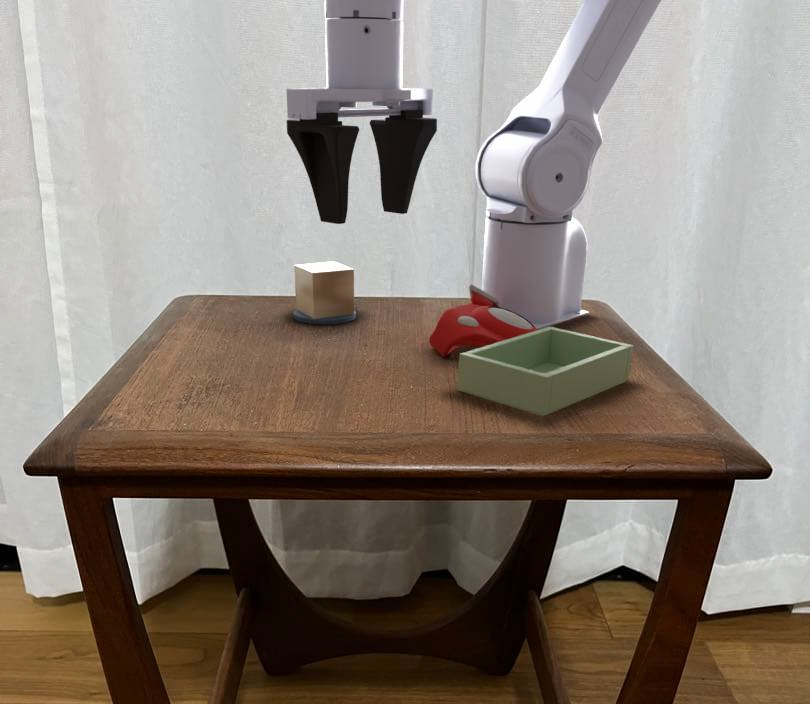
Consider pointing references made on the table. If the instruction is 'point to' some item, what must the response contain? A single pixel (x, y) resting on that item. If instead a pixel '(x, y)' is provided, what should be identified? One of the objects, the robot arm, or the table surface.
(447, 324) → the red curved piece
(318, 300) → the block
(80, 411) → the table surface
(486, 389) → the tray
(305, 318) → the pad
